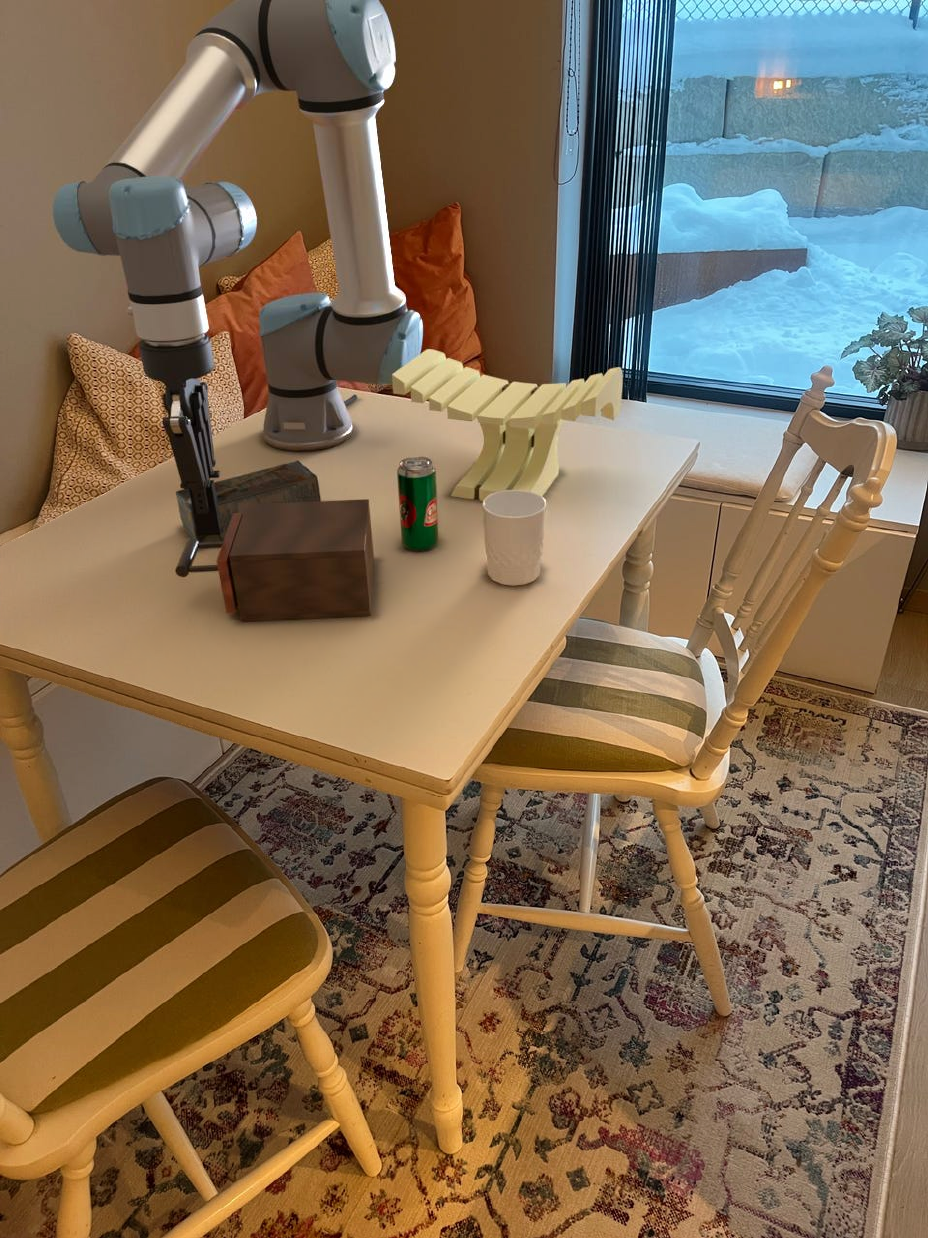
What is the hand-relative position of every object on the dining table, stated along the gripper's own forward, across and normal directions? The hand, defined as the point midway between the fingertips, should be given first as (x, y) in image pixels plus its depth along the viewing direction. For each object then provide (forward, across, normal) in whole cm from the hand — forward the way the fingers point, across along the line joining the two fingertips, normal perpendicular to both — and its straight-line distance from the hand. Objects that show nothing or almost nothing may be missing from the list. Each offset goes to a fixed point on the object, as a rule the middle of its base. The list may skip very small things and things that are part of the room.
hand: (210, 532), depth 113 cm
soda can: (+9, -11, +25) cm, 29 cm away
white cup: (+9, -2, +37) cm, 38 cm away
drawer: (+8, 0, +6) cm, 10 cm away
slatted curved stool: (+9, -31, +39) cm, 50 cm away
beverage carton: (+9, -20, +1) cm, 22 cm away
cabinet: (+9, 0, +11) cm, 14 cm away
